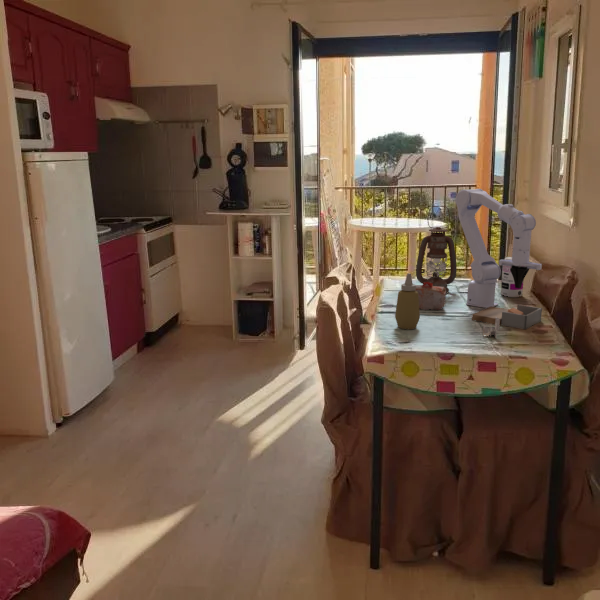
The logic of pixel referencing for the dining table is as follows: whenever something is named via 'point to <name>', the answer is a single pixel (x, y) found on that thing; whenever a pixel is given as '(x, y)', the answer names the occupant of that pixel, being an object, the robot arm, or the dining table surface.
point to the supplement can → (509, 283)
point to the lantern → (437, 257)
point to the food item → (431, 296)
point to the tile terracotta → (515, 311)
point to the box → (522, 317)
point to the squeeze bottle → (407, 305)
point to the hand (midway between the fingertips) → (518, 287)
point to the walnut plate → (489, 314)
